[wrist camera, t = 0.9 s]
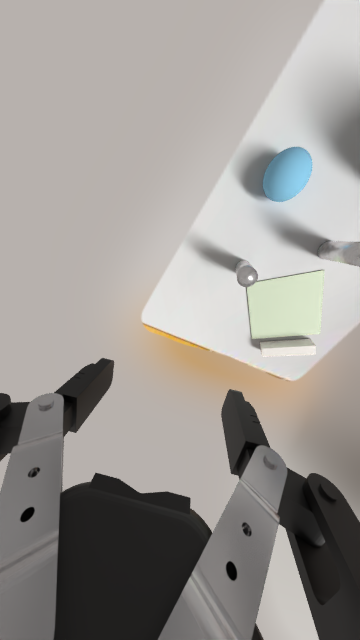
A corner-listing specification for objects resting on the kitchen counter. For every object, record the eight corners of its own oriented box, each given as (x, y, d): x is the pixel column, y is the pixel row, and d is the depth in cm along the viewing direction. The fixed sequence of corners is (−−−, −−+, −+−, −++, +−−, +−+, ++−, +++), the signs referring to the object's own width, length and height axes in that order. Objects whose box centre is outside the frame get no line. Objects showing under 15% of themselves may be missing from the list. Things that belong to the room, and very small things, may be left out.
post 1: (234, 262, 31) (236, 270, 23) (249, 258, 30) (257, 265, 22) (236, 276, 32) (238, 288, 24) (251, 273, 31) (258, 285, 23)
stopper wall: (259, 342, 36) (261, 348, 34) (310, 338, 33) (315, 345, 31) (260, 349, 37) (262, 356, 34) (309, 347, 34) (315, 354, 32)
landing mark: (246, 283, 32) (246, 283, 32) (324, 269, 28) (324, 270, 28) (251, 338, 36) (251, 338, 36) (319, 333, 32) (320, 334, 32)
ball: (258, 167, 25) (265, 150, 20) (303, 150, 23) (322, 127, 18) (261, 210, 27) (268, 203, 22) (302, 197, 25) (319, 187, 20)
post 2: (318, 243, 27) (354, 245, 19) (338, 239, 26) (386, 239, 18) (317, 260, 28) (351, 269, 20) (336, 256, 27) (381, 264, 19)
